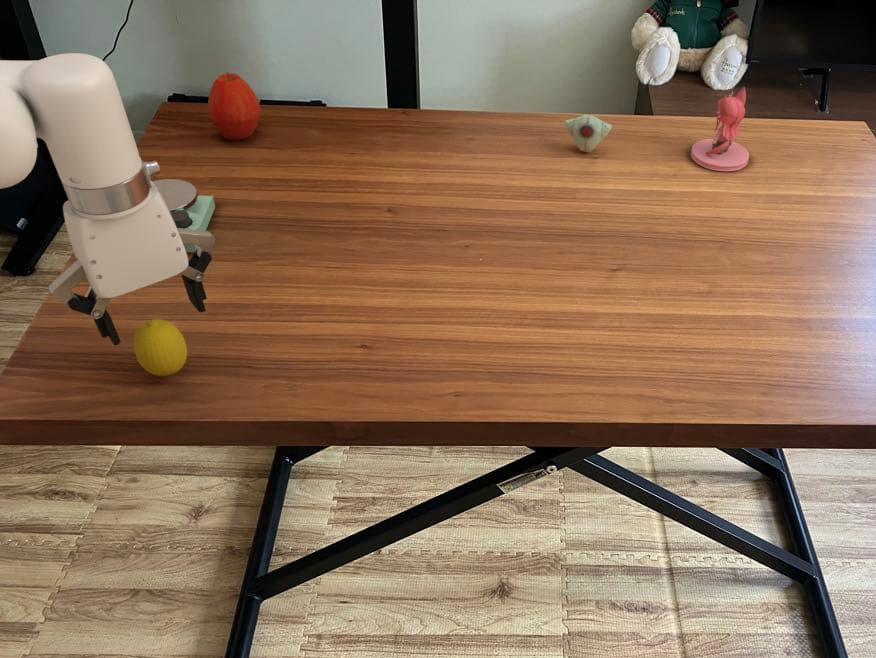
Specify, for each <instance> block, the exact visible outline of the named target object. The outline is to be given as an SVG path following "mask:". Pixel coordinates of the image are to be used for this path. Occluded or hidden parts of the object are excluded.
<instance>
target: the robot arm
mask: <svg viewBox="0 0 876 658" xmlns="http://www.w3.org/2000/svg"><path fill="white" fill-rule="evenodd" d="M37 139H41V140H42V141H43V142H44V143H45V145H46V147H47V150H48V152H49V155H50V157H51V159H52V162H53V164H54V167H55V169H56V171H57V174H58V177H59V179H60V181H61V185H62V187H63V189H64V192H65V194H66V196H67V200H66V201H65V202H64V203H63V205H62V211H63V219H64V222H65V227H66V231H67V235H68V238H69V241H70V245H71V248H72V251H73V254H74V256H75V259H76V261H75V262H73V264H71V265H69V267H67V269H66V270H65V271H63V273H62V274H60V275H59V276H58V277H57V278H55V280H54V281H53V282H52V283H50V284H49V286H48V291H49V292H50V294H51V295H52V296H53V298H55V299H56V300H58V301H59V302H61V303H62V304H64V305H66V306H67V307H69V308H70V310H72V311H74V312H78V313H81V314H85V315H88V316H91V318H92V320H93V321H94V324H95V326H96V328H97V331H98V332H99V334H100V336H101V338H102V339H105V338H107V337H108V338H109V339H110V341H111V342H112V344H113V345H114V346H118V345H120V343H121V342H122V341H121V338H120V336H119V334H118V331H117V329H116V327H115V324H114V322H113V319H112V317H111V315H110V313H109V312H108V311H107V309H108V305H110V301H111V299H113V298H117V297H119V296H123V295H126V294H129V293H131V292H135V291H137V290H140V289H143V288H146V287H148V286H151V285H154V284H156V283H159V282H162V281H165V280H167V279H170V278H173V277H175V276H178V275H181V279H182V281H183V285H184V287H185V291H186V294H187V297H188V300H189V302H190V304H191V305H193V307H194V308H195V309H196V310H197V312H198V313H204V312H206V311H207V310H206V305H205V304H204V301H206V300H207V294H206V291H205V288H204V284H203V280H204V279H205V271H206V270H207V268H208V266H209V265H210V263H211V262H212V260H213V258H212V253H214V249H215V248H214V247H215V244H216V237H215V236H214V235H213V234H212V232H211V231H209V230H206V231H201V230H192V229H182V228H177V227H176V225H175V223H174V220H173V218H172V216H171V214H170V212H169V210H168V207H167V205H166V203H165V201H164V200H163V198H162V196H161V194H160V193H159V191H158V189H157V188H156V186H155V184H154V183H153V181H152V178H154V177H155V176H157V175H159V174H161V173H162V170H161V168H160V166H159V164H158V162H157V160H153V161H152V160H151V161H144V159H142V158H141V155H140V152H139V149H138V146H137V143H136V140H135V136H134V133H133V131H132V128H131V125H130V121H129V118H128V114H127V112H126V109H125V106H124V103H123V100H122V97H121V94H120V90H119V88H118V83H117V81H116V78H115V76H114V74H113V71H112V69H111V68H110V67H109V65H108V64H107V63H106V61H104V60H103V59H101V58H100V57H98V56H94V55H92V54H89V53H82V52H70V53H60V54H59V53H58V54H54V55H50V56H47V57H44V58H41V59H38V60H9V59H8V60H7V59H5V60H4V59H0V190H1V189H6V188H11V187H13V186H16V185H17V184H20V183H21V182H22V181H23V180H25V179H26V178H27V177H28V175H29V174H30V173H31V172H32V170H33V169H34V167H35V164H36V162H37V157H38V143H37V142H38V141H37ZM183 243H184V244H195V245H198V249H197V250H196V251H195V252H193V254H192V256H191V258H190V259H189V256H188V252H186V250H185V247H184V245H183ZM82 280H85V282H86V283H87V284H89V286H88V289H87V291H86V293H85V295H82V294H78V293H74V292H72V289H74V287H76V286H78V284H80V282H81V281H82Z"/></svg>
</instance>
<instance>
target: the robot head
mask: <svg viewBox="0 0 876 658" xmlns="http://www.w3.org/2000/svg"><path fill="white" fill-rule="evenodd" d="M564 122H565V129H566V130H567V131H568V133H569V134H570V136H571V137H572V138H573V140H574V142H575V145H576V147H577V148H578V149H579V150H580V151H581V152H584V153H591V152H592V151H594V149H596V147H597V146H598V145H599V143H600V142H601V141H602V140H604V138H606V137H607V136H608V134H609V133H610V132H611V129H612V128H613V124H611V123H608V122H606V121H603V120H601V119H600V118H598V117H596V116H595V115H591V114H582V115H580V116H578V117H575V118H570V119H565V120H564Z"/></svg>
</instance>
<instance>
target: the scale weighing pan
mask: <svg viewBox="0 0 876 658" xmlns="http://www.w3.org/2000/svg"><path fill="white" fill-rule="evenodd" d="M152 182H153V183H154V184H155V186H156V188H157V189H158V191H159V193H160V194H161V196H162V198H163V200H164V201H165V203H166V205H167V207H168V210H169V212H170V213H171V212H173V211H177V210H183V211H185V210H187V209H189V208H190V207H192V206H193V205H194V204H195V203H196V201H197V199H198V196H199V194H198V190H197V188H196V186H195V185H194V184H192V183H191V182H189V181H186V180H182V179H175V178H173V179H172V178H167V179H158V180H154V181H152Z"/></svg>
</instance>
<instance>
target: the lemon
mask: <svg viewBox="0 0 876 658" xmlns="http://www.w3.org/2000/svg"><path fill="white" fill-rule="evenodd" d="M133 352H134V355H135V357H136V359H137V361H138V364H139V365H140V366H141V367H142V368H143V370H145V371H146V372H147V373H149V374H151V375H153V376H158V377H169V376H172V375H175V374H176V373H177V372H179V371H180V370H181V369H182V368H183V367H184V365H185V364H186V361H187V357H188V347H187V342H186V340H185V338H184V335H183V334H182V332H181V330H180V329H178V327H177V326H176V325H175V324H174V323H172V322H170V321H169V320H166V319H161V318H153V319H150V320H149V319H148V320H147V321H144V322H143V323H142V324H140V325H139V326H138V327H137V329H136V331H135V333H134V335H133Z"/></svg>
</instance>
